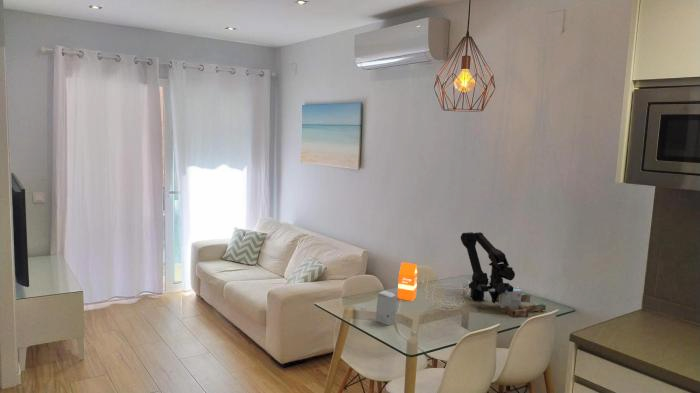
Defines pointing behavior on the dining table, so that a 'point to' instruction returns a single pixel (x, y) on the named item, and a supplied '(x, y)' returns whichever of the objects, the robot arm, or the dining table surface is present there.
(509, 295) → the light bulb box
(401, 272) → the orange juice
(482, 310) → the dining table surface
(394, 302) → the skincare box
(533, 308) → the corridor
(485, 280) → the robot arm
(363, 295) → the dining table surface
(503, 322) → the dining table surface
